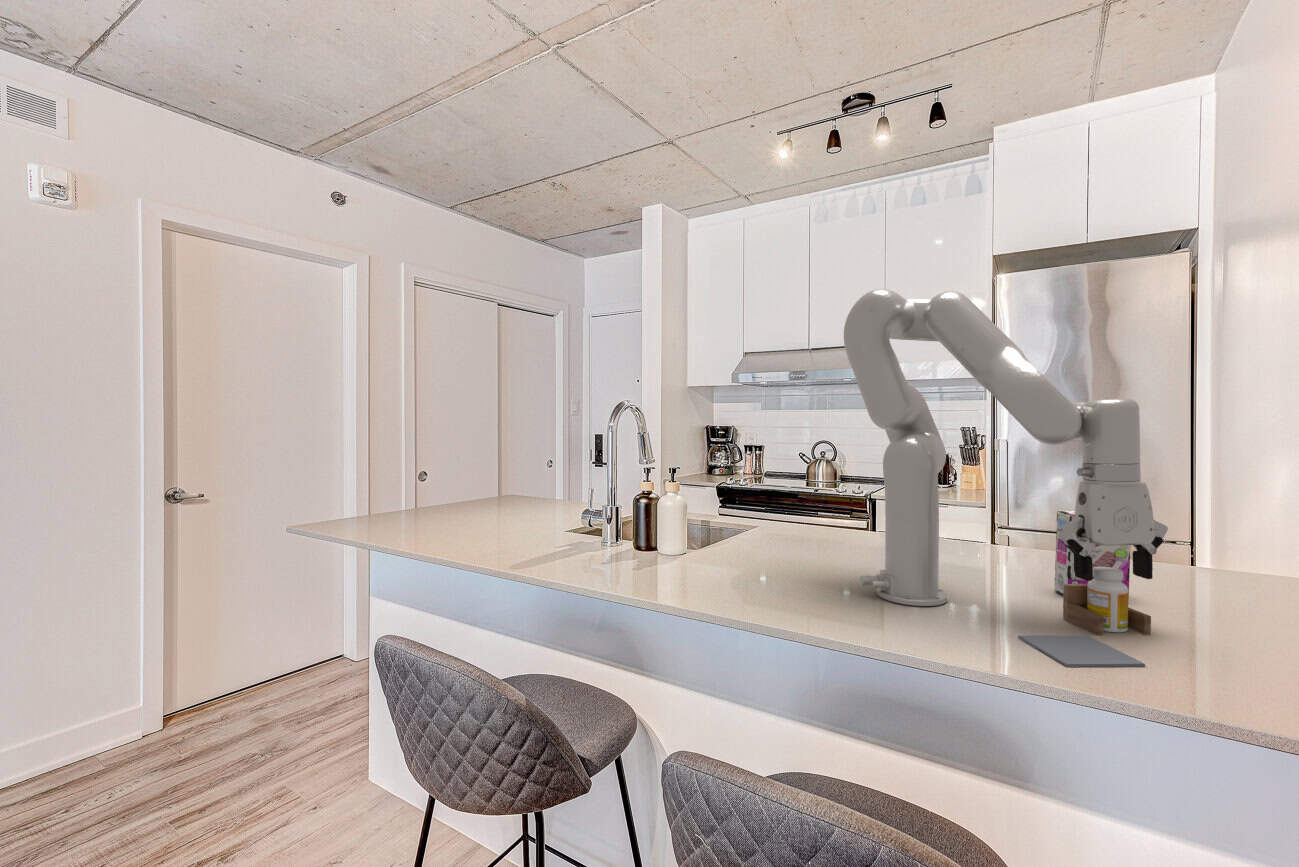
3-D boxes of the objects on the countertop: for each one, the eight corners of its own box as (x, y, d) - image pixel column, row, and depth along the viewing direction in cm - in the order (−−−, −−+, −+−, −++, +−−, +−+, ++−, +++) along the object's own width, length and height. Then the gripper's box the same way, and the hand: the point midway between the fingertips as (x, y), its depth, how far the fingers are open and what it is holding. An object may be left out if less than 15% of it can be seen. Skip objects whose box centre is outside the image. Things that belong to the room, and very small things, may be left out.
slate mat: (1066, 667, 84) (1066, 664, 84) (1017, 637, 95) (1018, 635, 95) (1145, 666, 84) (1145, 663, 84) (1087, 637, 95) (1087, 635, 95)
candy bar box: (1068, 599, 114) (1069, 513, 114) (1053, 591, 119) (1054, 509, 119) (1131, 601, 113) (1133, 514, 113) (1113, 593, 118) (1115, 510, 118)
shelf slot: (1096, 635, 96) (1097, 597, 95) (1063, 618, 103) (1063, 584, 103) (1150, 634, 96) (1151, 597, 95) (1112, 618, 103) (1113, 583, 103)
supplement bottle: (1119, 623, 101) (1120, 566, 100) (1133, 635, 96) (1134, 574, 95) (1081, 620, 103) (1082, 564, 102) (1093, 631, 97) (1094, 572, 97)
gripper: (1074, 477, 95) (1076, 585, 95) (1184, 474, 95) (1186, 582, 95) (1043, 473, 102) (1045, 573, 102) (1144, 470, 102) (1146, 571, 102)
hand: (1113, 577), depth 98 cm, fingers open, 9 cm apart
